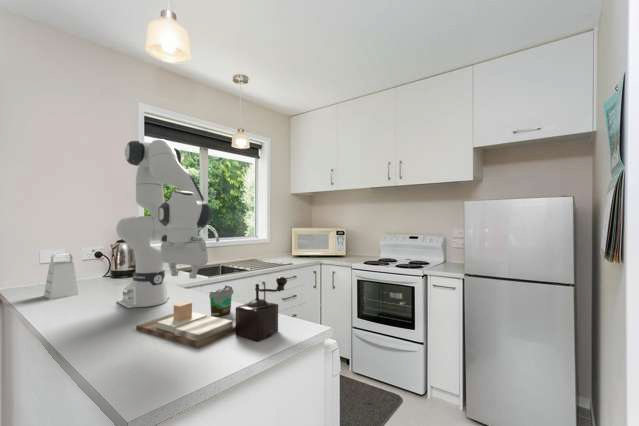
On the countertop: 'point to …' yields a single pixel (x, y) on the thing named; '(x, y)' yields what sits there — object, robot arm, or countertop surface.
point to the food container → (221, 301)
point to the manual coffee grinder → (258, 316)
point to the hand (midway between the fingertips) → (183, 277)
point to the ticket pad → (178, 339)
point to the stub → (180, 317)
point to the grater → (61, 279)
